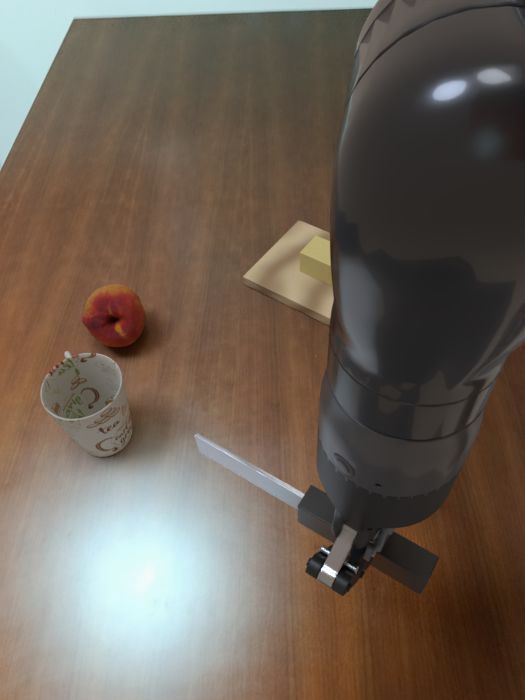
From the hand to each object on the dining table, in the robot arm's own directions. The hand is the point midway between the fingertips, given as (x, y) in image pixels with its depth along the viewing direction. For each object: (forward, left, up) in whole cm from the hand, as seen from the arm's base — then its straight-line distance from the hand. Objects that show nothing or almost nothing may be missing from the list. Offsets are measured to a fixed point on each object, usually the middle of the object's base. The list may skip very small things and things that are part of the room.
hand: (363, 544), depth 43 cm
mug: (+34, -1, -15) cm, 37 cm away
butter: (+24, -35, -14) cm, 44 cm away
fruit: (+41, -12, -15) cm, 45 cm away
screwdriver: (+5, 0, 0) cm, 5 cm away
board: (+22, -35, -15) cm, 44 cm away
